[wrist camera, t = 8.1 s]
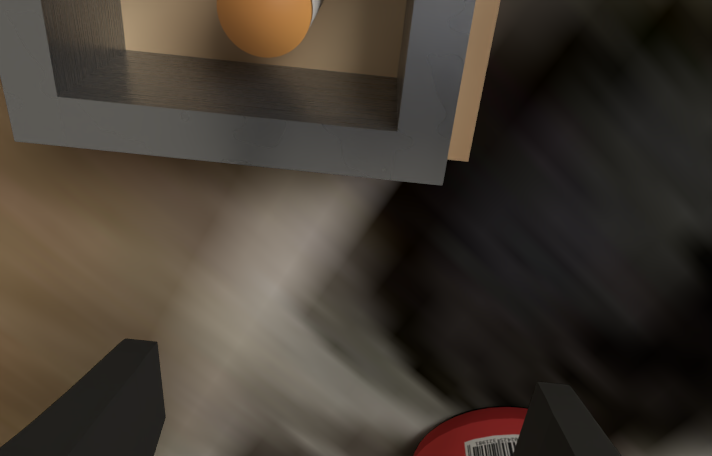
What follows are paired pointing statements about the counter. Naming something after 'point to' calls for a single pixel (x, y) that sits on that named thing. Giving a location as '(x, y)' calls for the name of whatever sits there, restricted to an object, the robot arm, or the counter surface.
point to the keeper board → (307, 40)
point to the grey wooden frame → (232, 96)
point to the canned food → (475, 434)
